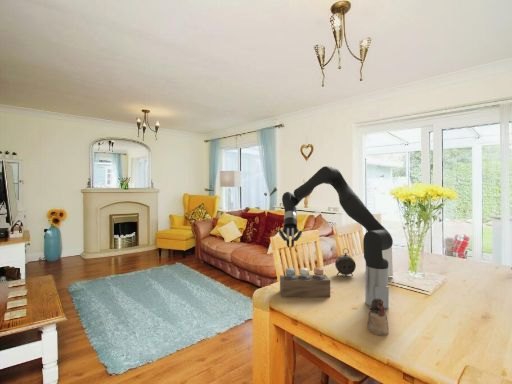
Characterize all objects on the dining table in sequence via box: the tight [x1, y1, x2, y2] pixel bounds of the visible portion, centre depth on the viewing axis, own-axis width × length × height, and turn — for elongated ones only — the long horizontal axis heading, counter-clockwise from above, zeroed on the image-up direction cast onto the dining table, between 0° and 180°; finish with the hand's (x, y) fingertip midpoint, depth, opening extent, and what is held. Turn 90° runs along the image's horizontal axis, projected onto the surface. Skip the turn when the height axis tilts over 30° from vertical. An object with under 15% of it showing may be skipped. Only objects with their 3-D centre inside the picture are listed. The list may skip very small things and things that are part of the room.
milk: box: [382, 246, 394, 277], centre depth 161 cm, size 12×12×26 cm
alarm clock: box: [334, 247, 357, 278], centre depth 158 cm, size 11×5×16 cm, turn 84°
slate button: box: [285, 267, 296, 276], centre depth 132 cm, size 4×4×2 cm
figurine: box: [366, 298, 389, 336], centre depth 99 cm, size 7×7×12 cm
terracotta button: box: [313, 267, 324, 275], centre depth 132 cm, size 4×4×2 cm
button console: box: [279, 274, 331, 298], centre depth 132 cm, size 8×23×8 cm, turn 93°
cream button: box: [299, 267, 310, 276], centre depth 132 cm, size 4×4×2 cm
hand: (290, 246), depth 144 cm, fingers closed
